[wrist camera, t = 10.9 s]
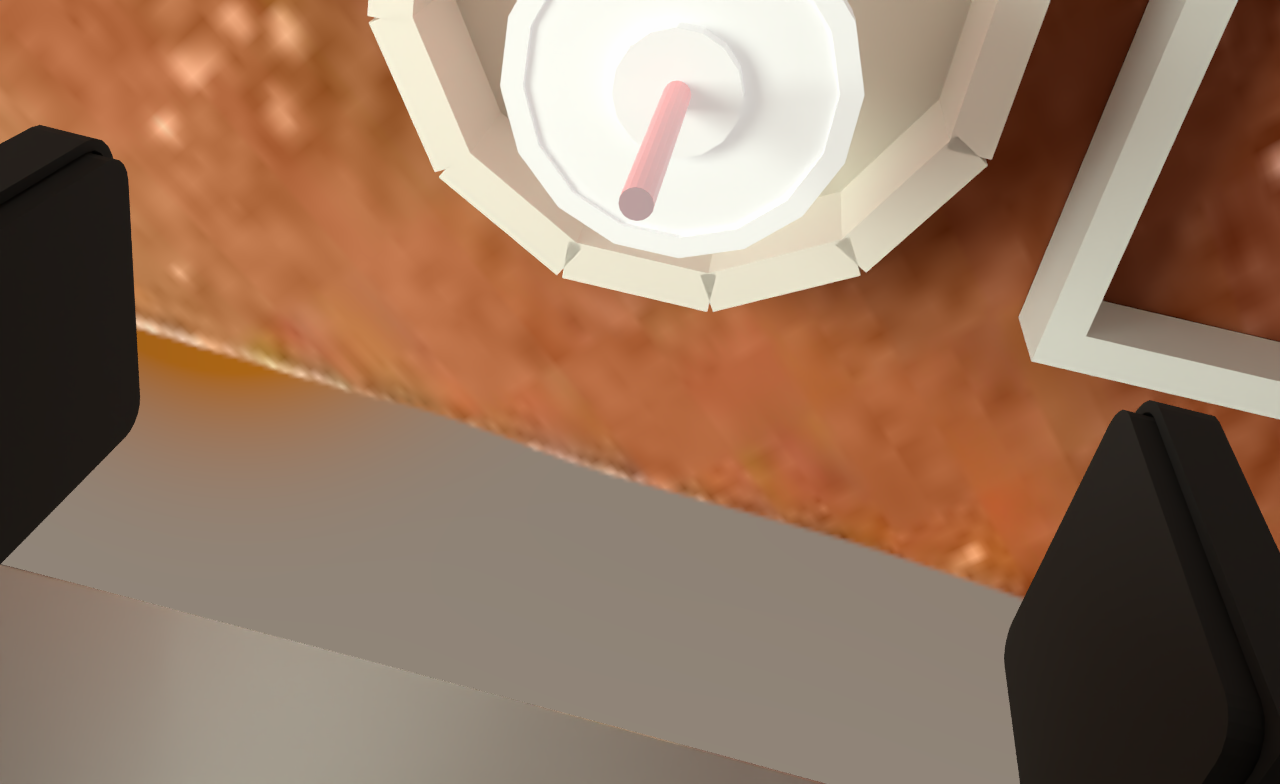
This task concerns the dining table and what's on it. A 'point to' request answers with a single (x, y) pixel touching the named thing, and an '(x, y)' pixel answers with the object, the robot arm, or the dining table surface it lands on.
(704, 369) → the dining table surface
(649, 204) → the beverage cup
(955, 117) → the bowl
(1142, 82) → the open square frame
